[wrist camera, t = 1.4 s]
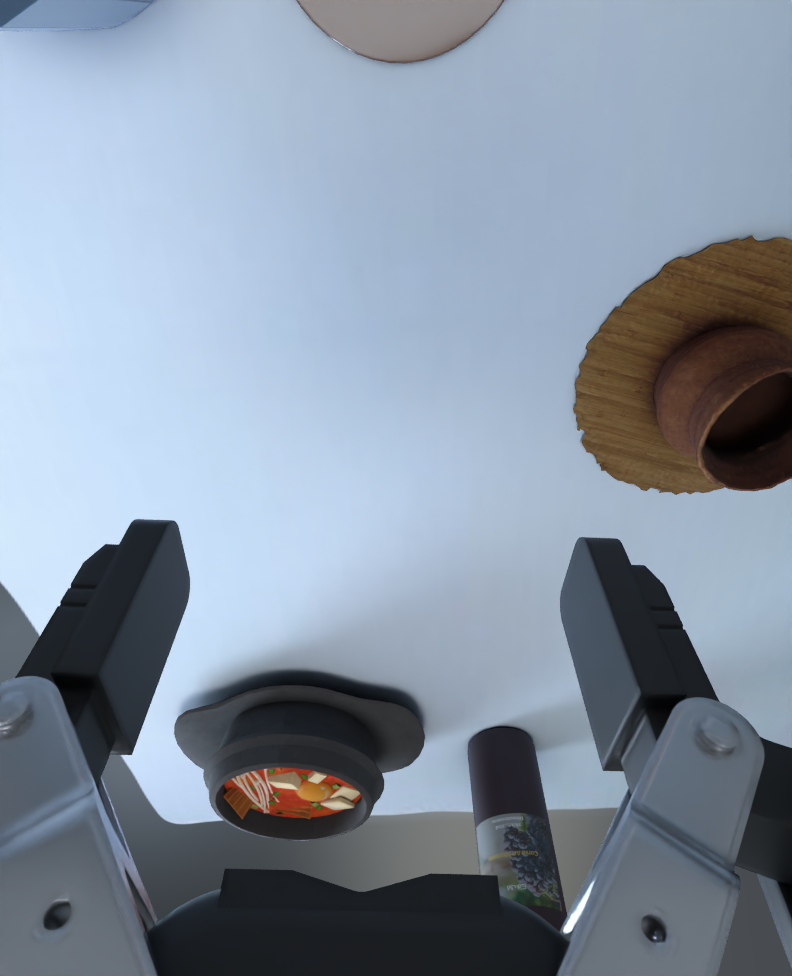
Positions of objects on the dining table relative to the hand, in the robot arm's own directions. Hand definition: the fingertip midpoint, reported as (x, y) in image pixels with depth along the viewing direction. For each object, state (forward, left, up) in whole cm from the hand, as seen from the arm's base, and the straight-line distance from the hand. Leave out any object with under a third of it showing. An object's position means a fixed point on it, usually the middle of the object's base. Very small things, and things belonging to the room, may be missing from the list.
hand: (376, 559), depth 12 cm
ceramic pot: (-7, +22, -26) cm, 35 cm away
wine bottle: (+31, +44, -26) cm, 60 cm away
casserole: (+42, +26, -26) cm, 56 cm away
